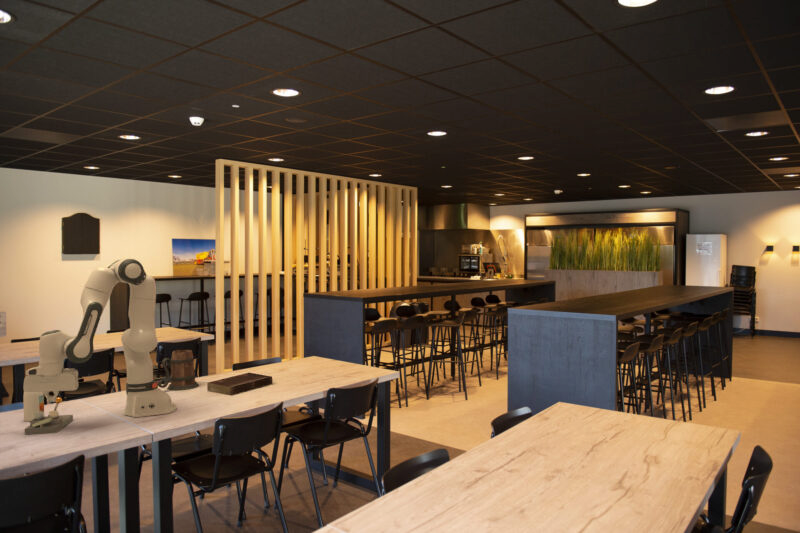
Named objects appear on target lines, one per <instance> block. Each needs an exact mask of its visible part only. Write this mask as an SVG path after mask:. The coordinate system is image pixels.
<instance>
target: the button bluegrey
mask: <svg viewBox="0 0 800 533" xmlns="http://www.w3.org/2000/svg"><path fill="white" fill-rule="evenodd" d="M44 417H45V411H44V412H36V413H35V419H36V420H38V419H43V418H44Z"/></svg>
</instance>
